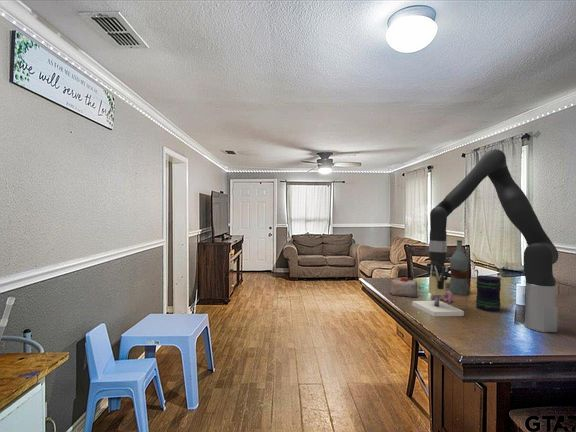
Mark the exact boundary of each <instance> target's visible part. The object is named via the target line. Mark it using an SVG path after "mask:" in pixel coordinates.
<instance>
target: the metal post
mask: <svg viewBox="0 0 576 432" xmlns="http://www.w3.org/2000/svg"><path fill="white" fill-rule="evenodd" d="M433 301H434V306H437V307H439V301H440V300H439V295H435V298H434V300H433Z"/></svg>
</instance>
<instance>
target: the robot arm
mask: <svg viewBox="0 0 576 432" xmlns="http://www.w3.org/2000/svg"><path fill="white" fill-rule="evenodd" d="M486 177H488V178H489V180H490V182H491V184H492V185H493V187H494V188H495V191H496V194H497V198H498V200H499V203H500V205H501V207H502V210H503V211H504V212H505V215H506V216H507V218H508V220H509V221H510V222H511V223H512V225H514V227H515V228H516V229H517V230H518V231H519V232H520V233H521V234H522V236H523V238H524V239H525V242H526V244H527V246H526V247H525V249H524V252H523V275H524V277H525V302H524V304H525V305H524V306H525V307H524V308H525V309H524V326H525V327H526V328H527V329H530V330H533V331H537V332H541V333H557V332H558V319H559V318H558V313H559V312H558V311H559V309H558V306H556V282H557V281H556V278H555V277H554V274H553V265H554V264H556V263H557V262H558V260H559V250H558V248H556V246H555V244H554V243H553V242H552V240H551V239H550V238H549V236H548V235H547V233H546V231H545V230H544V228H543V227H542V224H541V222H540V220H539V218H538V216H537V214H536V213H535V211H534V208H533V207H532V204H531V203H530V200H529V199H528V197H527V195H526V194H525V192H524V191H523V190H522V188H521V187H520V186H519V184H518V183H516V182H515V180H514V179H513V177H512V174H511V172H510V170H509V168H508V164H507V156H506V154H505V152H503V150H501V149H495V148H494V149H489V150H488V151H486V152H485V153H484V154H483V155H482V156H481V157H480V159H479V160H478V161H477V163H476V164H475V166H474V167H473V168H472V169H471V170H470V171H469V172H468V174H467V175H466V176H465V177H464V178H463V179H462V180H461V181H460V182H459V183H458V184H457V185H456V186H455V187H454V188H453V189H452V190H451V191H449V193H448V194H446V196H445V197H444V198H443V200H441V202H439V203H438V204H437V205H436V206H435V207H434V208H432V209H431V210H430V212H429V221H430V222H429V223H430V227H429V243H428V260H429V261H430V263H429V262H428V263H426V268H427V269H426V270H427V271H426V272H427V276H428V277H429V276H430V275H432V276H433V275H437V276H438V280H439V281H438V289H444V281H445V280H446V281H447V280H448V278H449V273H450V272H449V271H450V266H449V267H448V266H445V265H446V264H445V263H446V262H447V260H448V259H447V258H448V256H447V255H448V246H447V245H448V244H447V225H448V224H447V222H448V217H449V216H450V215H451V214H452V213H453V212H454V210H456V209H457V208H459V207H460V206H461V205H462V204H464V202H465V201H466V200H467V199H468V198H470V196H471V195H472V194H473V193H474V191H475V190H476V188H477V187H478V186H479V185H480V183H482V182H483V180H485V179H486ZM440 276H441V277H440Z"/></svg>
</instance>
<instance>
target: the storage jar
mask: <svg viewBox="0 0 576 432" xmlns="http://www.w3.org/2000/svg"><path fill="white" fill-rule="evenodd" d="M501 280H502V279H501V277H497V276H493V275H477V276H476V282H475V283H476V296H475V299H476V300H475V303H476V304H475V305H476V307H475V308H476V309H477V310H479V311H482V312H486V313H487V312H488V313H500V311H501V306H502V305H501V296H500V295H501V287H502V285H501V284H502V282H501Z"/></svg>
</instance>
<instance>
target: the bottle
mask: <svg viewBox="0 0 576 432" xmlns="http://www.w3.org/2000/svg"><path fill="white" fill-rule="evenodd" d="M449 260H450V261H449V271H450V281H449V291H450V292H451V293H452V294H453V295H456V296H467V295H468V289H469V285H468V270H469V260H468V257H467V255H466V253H465V252H464V251H463V240H459V239H458V240H456V250H455V251H454V252H453V254H452V255H451V256H450V259H449Z"/></svg>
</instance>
